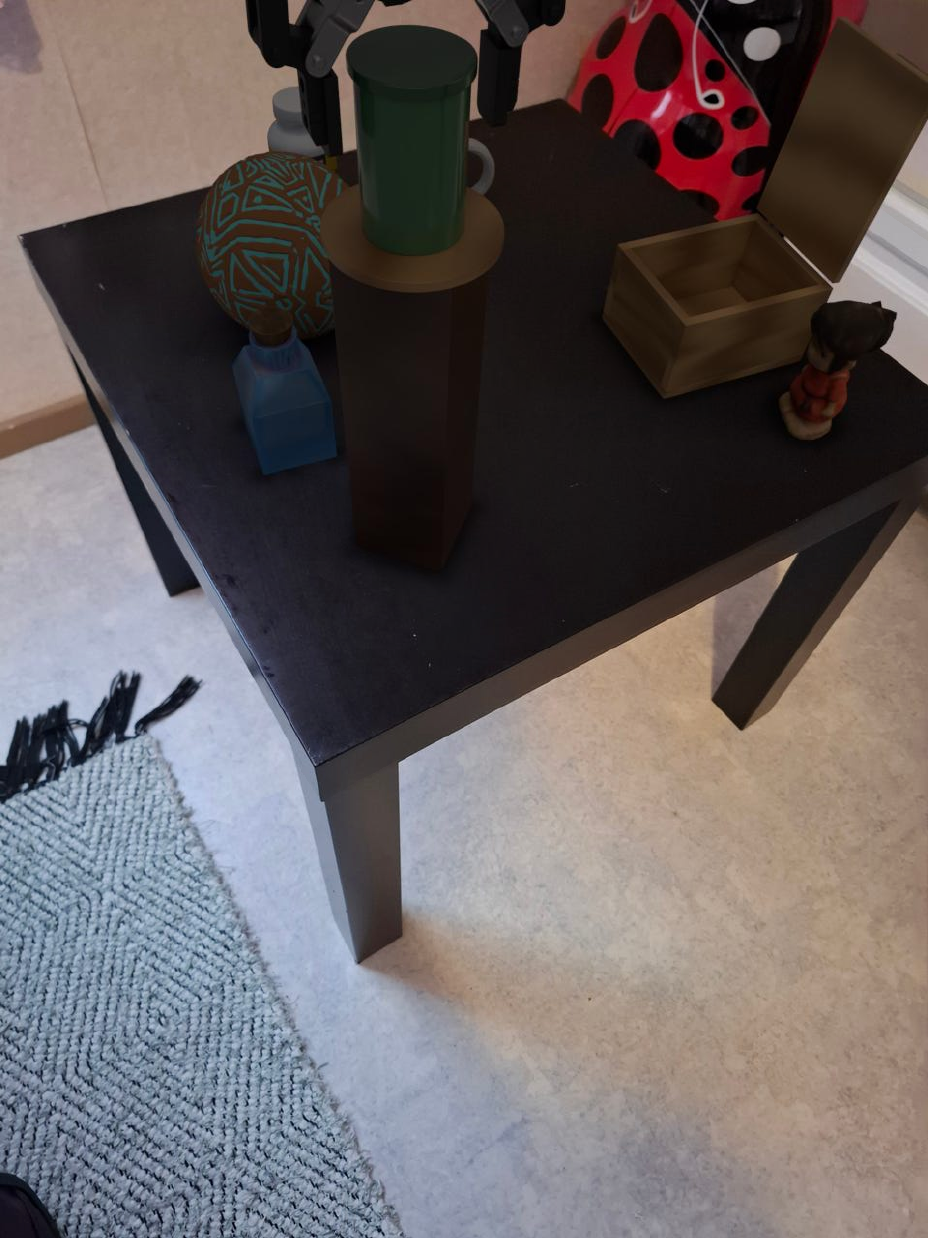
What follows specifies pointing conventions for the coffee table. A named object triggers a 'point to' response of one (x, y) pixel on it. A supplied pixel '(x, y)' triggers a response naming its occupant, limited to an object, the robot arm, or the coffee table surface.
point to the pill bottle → (293, 129)
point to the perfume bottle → (282, 395)
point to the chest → (712, 303)
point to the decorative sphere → (269, 239)
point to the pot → (412, 135)
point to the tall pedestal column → (410, 377)
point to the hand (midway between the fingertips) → (411, 133)
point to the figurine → (832, 363)
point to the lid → (845, 147)
